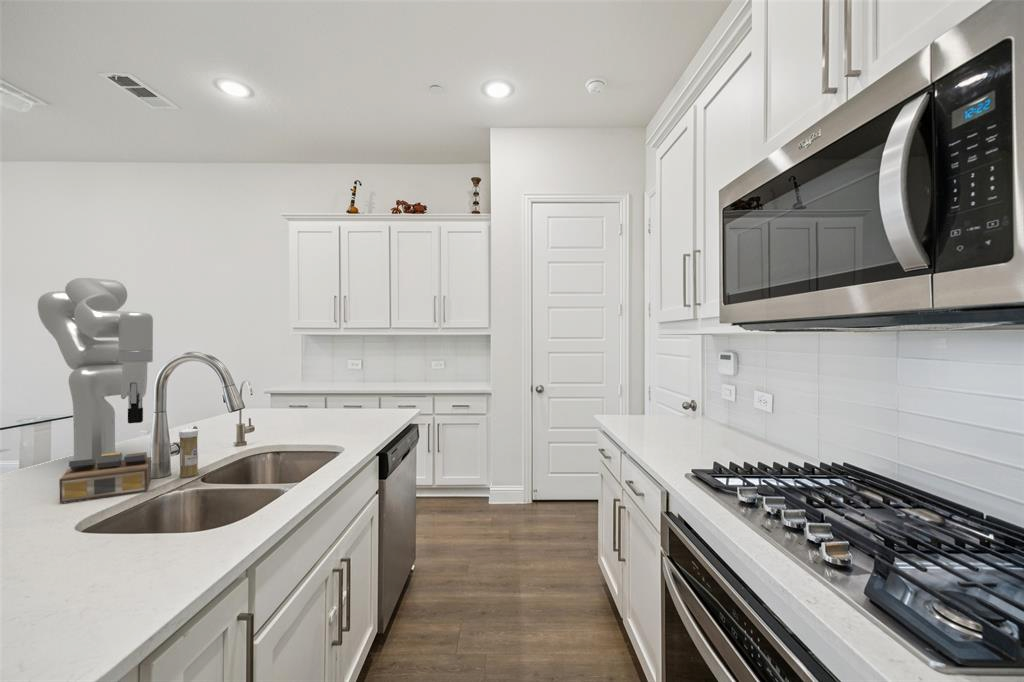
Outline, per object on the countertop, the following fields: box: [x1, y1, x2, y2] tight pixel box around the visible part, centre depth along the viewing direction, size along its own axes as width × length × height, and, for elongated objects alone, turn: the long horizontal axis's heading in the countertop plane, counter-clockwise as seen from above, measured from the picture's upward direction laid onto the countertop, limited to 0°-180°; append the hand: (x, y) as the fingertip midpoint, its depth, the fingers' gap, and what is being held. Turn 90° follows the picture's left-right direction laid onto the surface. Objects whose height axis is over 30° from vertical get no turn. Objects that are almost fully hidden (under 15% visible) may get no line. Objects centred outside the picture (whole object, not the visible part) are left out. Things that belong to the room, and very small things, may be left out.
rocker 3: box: [123, 451, 148, 463], centre depth 131 cm, size 6×4×2 cm
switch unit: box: [58, 456, 152, 504], centre depth 127 cm, size 14×17×6 cm
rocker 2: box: [97, 451, 123, 468], centre depth 128 cm, size 6×4×2 cm
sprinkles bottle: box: [178, 428, 199, 478], centre depth 140 cm, size 5×5×14 cm
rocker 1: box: [68, 459, 96, 470], centre depth 125 cm, size 6×4×2 cm
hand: (135, 422), depth 133 cm, fingers closed
